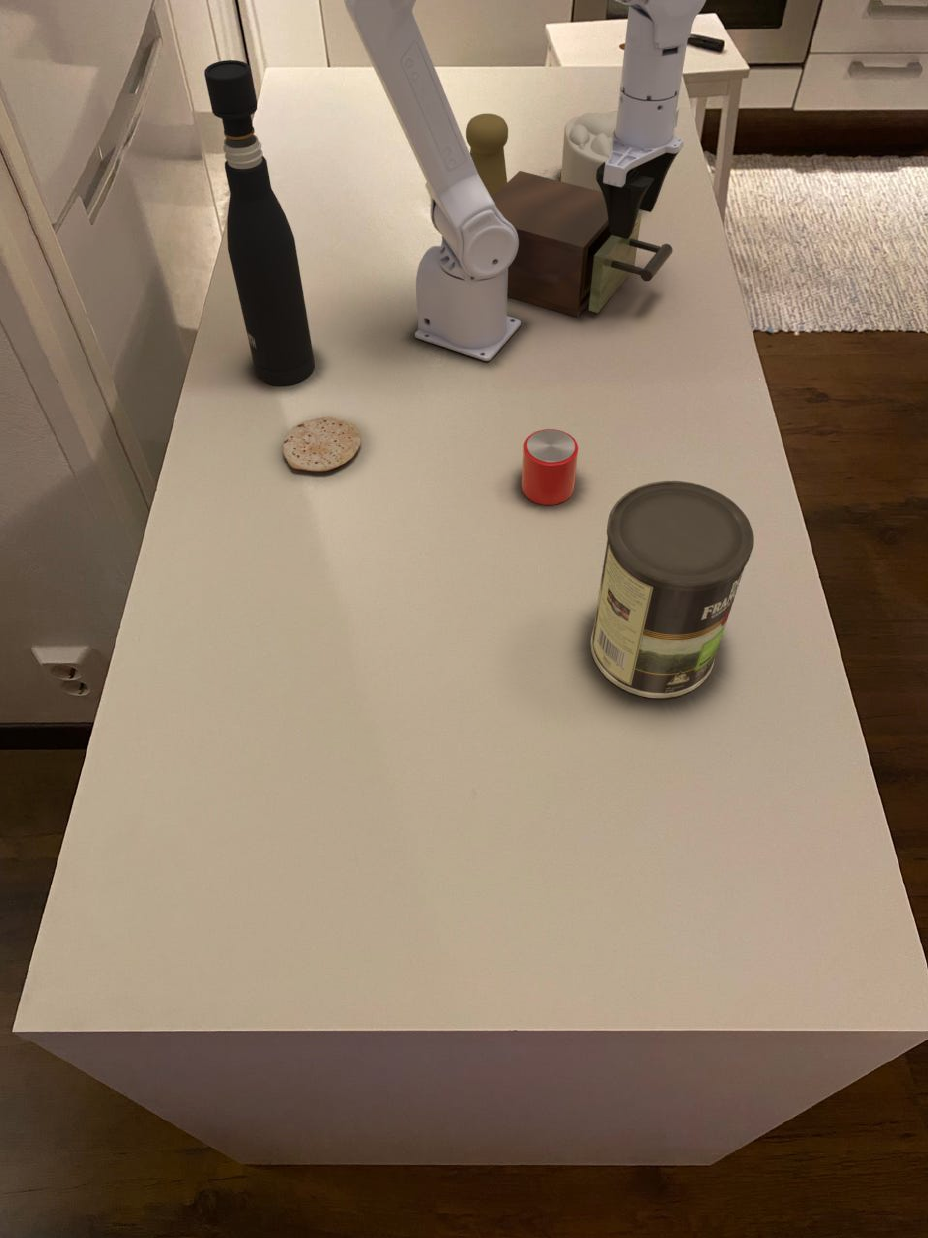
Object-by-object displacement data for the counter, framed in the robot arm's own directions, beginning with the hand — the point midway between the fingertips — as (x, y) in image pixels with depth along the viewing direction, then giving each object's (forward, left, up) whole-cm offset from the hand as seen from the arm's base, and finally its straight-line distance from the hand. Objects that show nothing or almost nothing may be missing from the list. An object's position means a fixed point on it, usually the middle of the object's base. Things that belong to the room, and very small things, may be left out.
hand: (631, 221), depth 102 cm
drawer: (-5, 0, -8) cm, 10 cm away
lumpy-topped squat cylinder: (-12, +21, -10) cm, 26 cm away
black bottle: (-27, -29, -10) cm, 41 cm away
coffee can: (+22, -45, -10) cm, 51 cm away
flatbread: (-16, -38, -9) cm, 42 cm away
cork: (-24, +11, -10) cm, 28 cm away
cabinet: (-10, 0, -9) cm, 14 cm away
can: (+6, -32, -9) cm, 34 cm away
